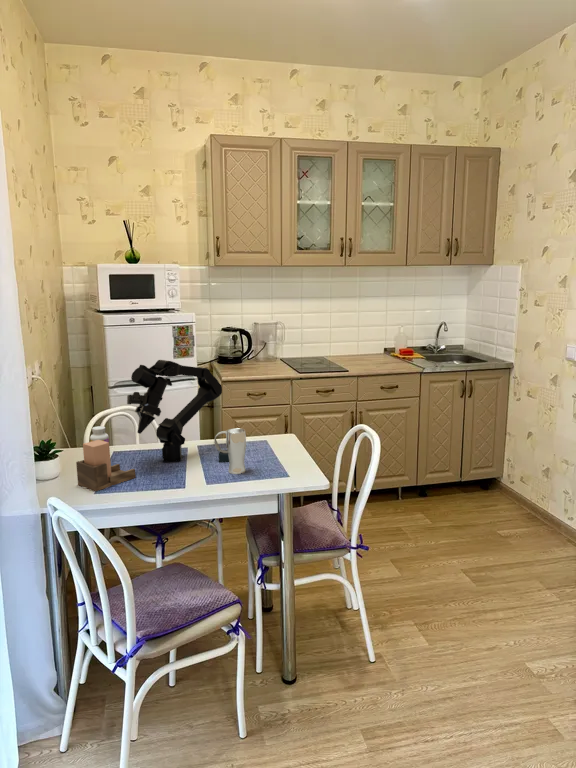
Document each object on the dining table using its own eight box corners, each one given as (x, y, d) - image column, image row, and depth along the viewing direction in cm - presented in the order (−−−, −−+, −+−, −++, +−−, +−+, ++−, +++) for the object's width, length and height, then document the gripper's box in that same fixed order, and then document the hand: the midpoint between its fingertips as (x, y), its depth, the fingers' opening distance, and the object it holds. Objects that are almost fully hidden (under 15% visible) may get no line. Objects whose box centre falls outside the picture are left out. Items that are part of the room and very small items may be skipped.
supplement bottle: (106, 463, 218) (104, 430, 215) (89, 463, 218) (86, 430, 215) (112, 457, 224) (110, 425, 222) (95, 457, 224) (92, 425, 222)
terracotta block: (101, 476, 201) (98, 439, 198) (111, 479, 197) (109, 442, 195) (85, 481, 196) (82, 443, 194) (96, 485, 193) (93, 447, 190)
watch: (235, 462, 218) (235, 433, 216) (214, 462, 218) (213, 433, 215) (236, 457, 223) (236, 429, 221) (215, 457, 223) (214, 429, 221)
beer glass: (228, 468, 211) (227, 427, 208) (247, 468, 211) (246, 427, 208) (225, 474, 204) (224, 433, 202) (245, 474, 204) (244, 433, 201)
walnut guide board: (118, 471, 209) (116, 450, 207) (135, 477, 203) (134, 455, 201) (78, 484, 196) (76, 461, 195) (95, 491, 190) (93, 467, 189)
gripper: (130, 386, 218) (113, 425, 214) (138, 381, 200) (120, 424, 197) (158, 397, 221) (142, 436, 218) (168, 394, 204) (151, 436, 201)
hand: (138, 433), depth 208 cm, fingers closed
